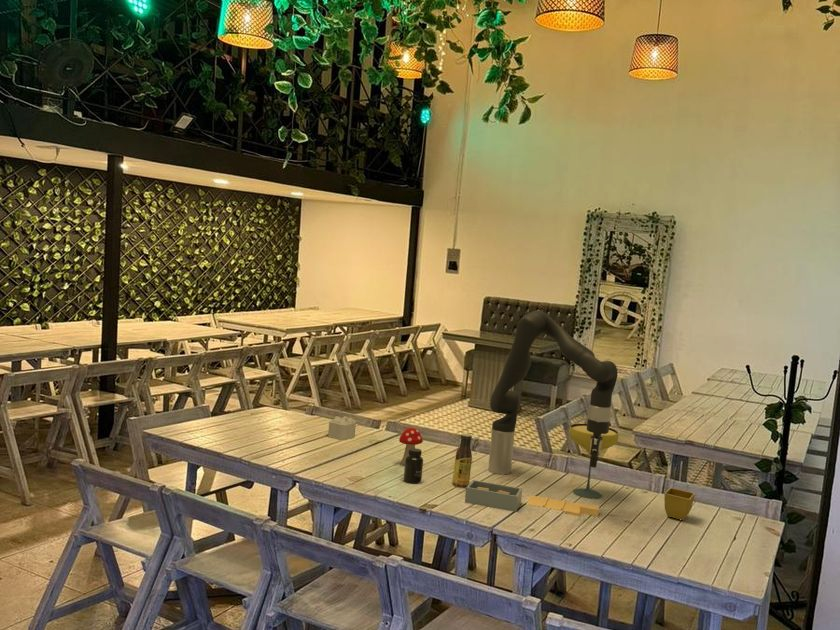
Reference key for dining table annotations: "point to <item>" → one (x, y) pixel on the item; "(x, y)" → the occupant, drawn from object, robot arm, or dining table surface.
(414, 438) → the decorative mushroom
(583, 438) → the cocktail glass
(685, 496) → the flower pot
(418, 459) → the supplement bottle
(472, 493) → the tub
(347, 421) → the grey studded block
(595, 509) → the lid
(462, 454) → the sauce bottle
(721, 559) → the dining table surface
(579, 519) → the dining table surface
